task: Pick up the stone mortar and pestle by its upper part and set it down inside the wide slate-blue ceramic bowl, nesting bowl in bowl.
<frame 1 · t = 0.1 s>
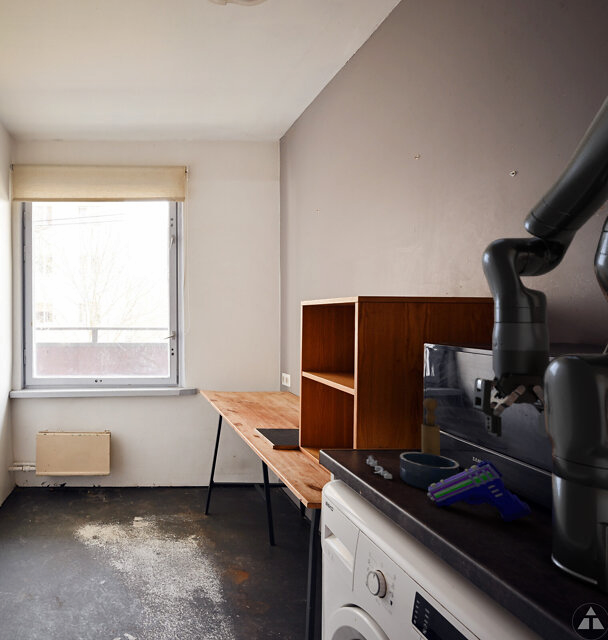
hand: (520, 436, 75), 17 cm above the counter, tool pointing down, fingers open, 8 cm apart
toy gun: (475, 513, 82), on the counter
figurines set: (376, 471, 105), on the counter
blue bowl: (428, 483, 97), on the counter
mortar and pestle: (430, 468, 107), on the counter
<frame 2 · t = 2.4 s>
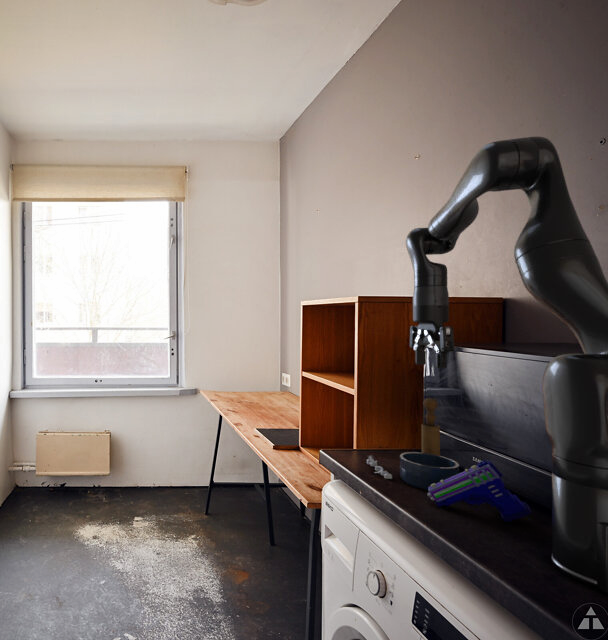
hand: (430, 366, 107), 26 cm above the counter, tool pointing down, fingers open, 8 cm apart
nothing on the counter moved.
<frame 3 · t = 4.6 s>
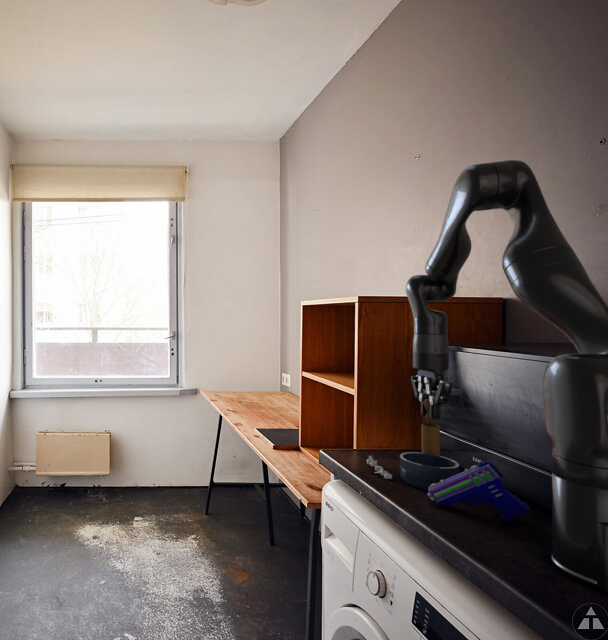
hand: (430, 417, 107), 13 cm above the counter, tool pointing down, fingers closed on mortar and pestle, 3 cm apart
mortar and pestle: (430, 468, 107), on the counter, touching gripper
everything else where it was.
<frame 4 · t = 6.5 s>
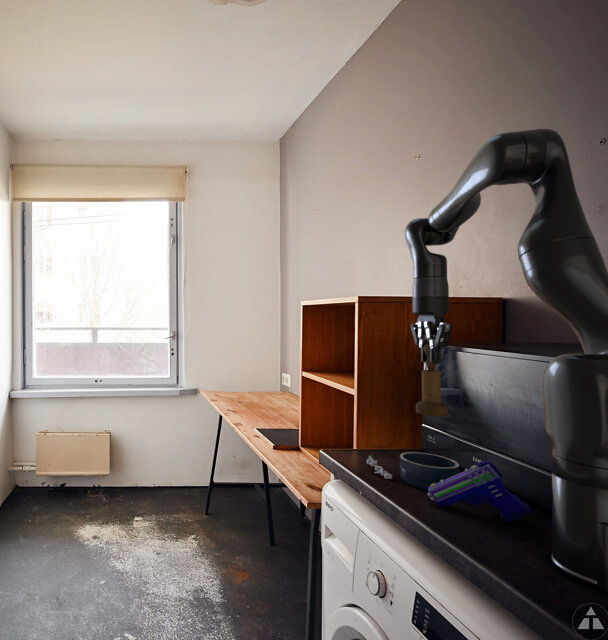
hand: (431, 362, 105), 28 cm above the counter, tool pointing down, fingers closed on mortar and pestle, 3 cm apart
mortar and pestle: (431, 414, 105), point 14 cm above the counter, touching gripper
everything else where it was.
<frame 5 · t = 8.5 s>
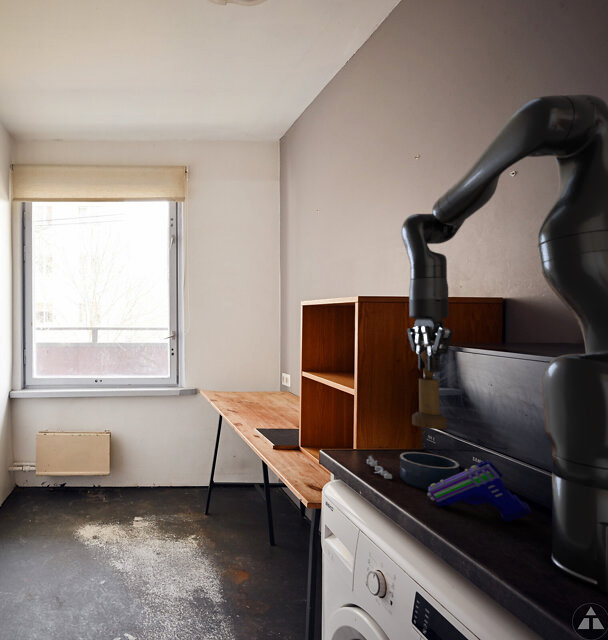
hand: (428, 370, 97), 26 cm above the counter, tool pointing down, fingers closed on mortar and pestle, 3 cm apart
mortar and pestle: (429, 426, 97), point 13 cm above the counter, touching gripper
everything else where it was.
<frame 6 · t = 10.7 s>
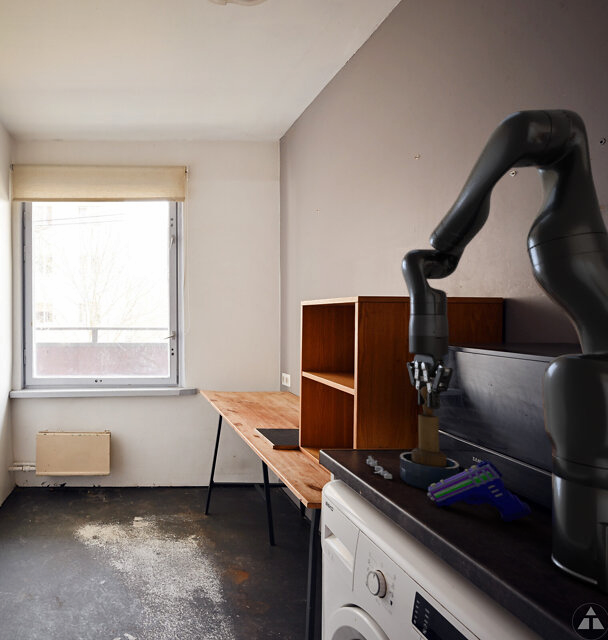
hand: (428, 406, 97), 18 cm above the counter, tool pointing down, fingers closed on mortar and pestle, 3 cm apart
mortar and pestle: (428, 463, 97), point 5 cm above the counter, touching gripper
everything else where it was.
when the fingers open (14 cm above the counter, at t = 12.3 s): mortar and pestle stays where it is, resting on blue bowl.
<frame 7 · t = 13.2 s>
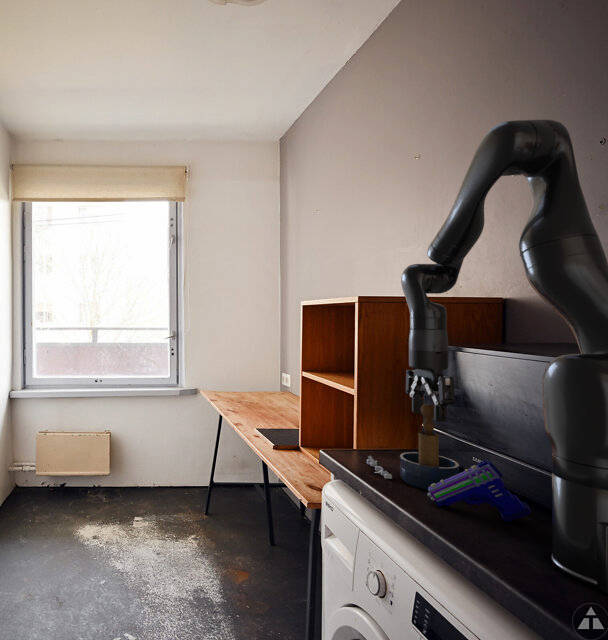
hand: (428, 417, 97), 16 cm above the counter, tool pointing down, fingers open, 8 cm apart
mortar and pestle: (428, 481, 97), resting on blue bowl
everything else where it was.
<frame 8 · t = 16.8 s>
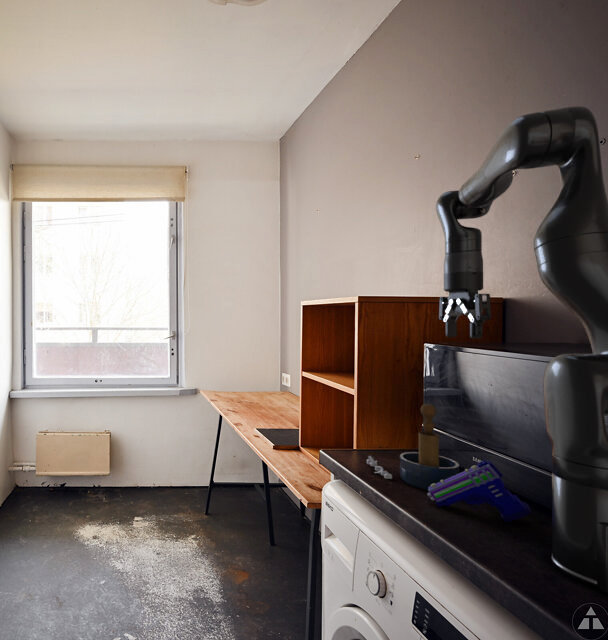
hand: (463, 337, 101), 34 cm above the counter, tool pointing down, fingers open, 8 cm apart
nothing on the counter moved.
at the end: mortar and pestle 0.1 cm off-centre in the blue bowl, point 0.4 cm above the blue bowl's base; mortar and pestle tilted 0°; the gripper is holding nothing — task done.
